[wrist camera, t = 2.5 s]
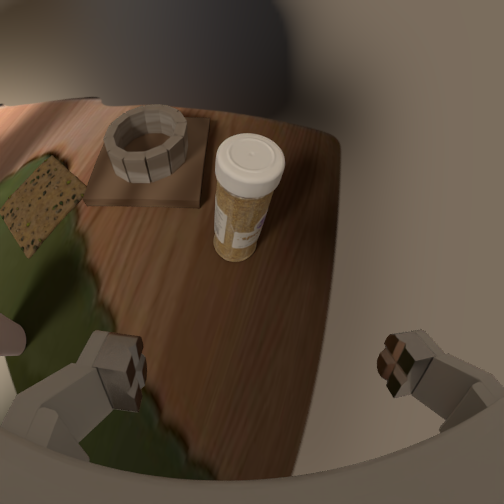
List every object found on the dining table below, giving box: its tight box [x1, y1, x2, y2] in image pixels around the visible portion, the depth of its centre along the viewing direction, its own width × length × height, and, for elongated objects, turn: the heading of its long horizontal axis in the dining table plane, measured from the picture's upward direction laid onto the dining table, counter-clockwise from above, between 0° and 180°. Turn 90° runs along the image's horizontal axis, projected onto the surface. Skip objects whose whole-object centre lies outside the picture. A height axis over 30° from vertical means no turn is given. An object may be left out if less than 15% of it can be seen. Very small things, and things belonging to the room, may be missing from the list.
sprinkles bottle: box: [214, 133, 285, 262], centre depth 23 cm, size 5×5×13 cm
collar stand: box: [83, 104, 210, 208], centre depth 30 cm, size 14×14×6 cm
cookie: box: [0, 156, 87, 258], centre depth 28 cm, size 12×12×1 cm
